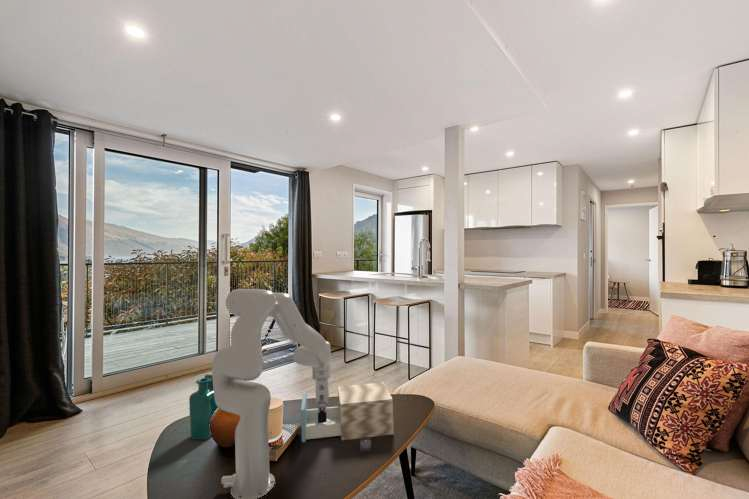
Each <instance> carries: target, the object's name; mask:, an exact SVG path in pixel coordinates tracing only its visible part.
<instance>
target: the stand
mask: <svg viewBox="0 0 749 499" xmlns="http://www.w3.org/2000/svg"><path fill="white" fill-rule="evenodd" d="M371 451H372V439H371V437H362V438H359V452H360V453H363V454H367V453H370V452H371Z"/></svg>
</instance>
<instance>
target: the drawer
mask: <svg viewBox="0 0 749 499" xmlns="http://www.w3.org/2000/svg"><path fill="white" fill-rule="evenodd" d="M307 393H308V392H307V390H303V391H302V397H301V407H300V420H301V421H300V422H301V428H300V429H301V443H306V442H307V441H306V440H311V439H312V440H313V439H323V438H330V437H336V436H337V437H341V410H340V406H339V405H338V406H330V407H329V406H326V419H330V420H331V423H329V424H320V425H315V422H316V421H317V420H318V407H317V408H310V409H308V402H307V401H308V398H307V396H308V394H307Z"/></svg>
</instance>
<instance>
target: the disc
mask: <svg viewBox="0 0 749 499" xmlns="http://www.w3.org/2000/svg"><path fill="white" fill-rule="evenodd" d="M329 423H331V420H330V419H326V422H325V423H318V420H317V421H316V422H315V425H320V424H329Z"/></svg>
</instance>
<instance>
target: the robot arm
mask: <svg viewBox="0 0 749 499" xmlns="http://www.w3.org/2000/svg"><path fill="white" fill-rule="evenodd" d="M225 307H226V309H227V311H228V312H229V313H230V314H231V315H234V316H238V318H237V319H236V320H235V322H234V324H233V325H232V328H231V332H230V345H226V346H222V347H221V348H219V349H218V350H217V351H216V353H215V355H214V356H213V359H212V364H211V375H212V378H213V389H214V398H215V402H216V405H217V406H218V410H221V411H224V412H226V413H229V414H235V415H237V416H239V421H238V423H237V425H236V427H235V431H234V444H235V445H234V446H235V447H234V450H235V451H234V452H235V454H234V455H235V473H233V474H232V475H223V476H222V477H221V480H220V481H221V482H220V483H221V485H223V488H225V489H226V488H230V496H231V495H232V496H233V498H235V499H257V498H260V497H262V496H264V495H266V494H267V493H268V492H269V491H270V490H271V489H272V488H273V487H274V488H275V486H274V484H275V485H276V479H275V476H274V475H273V474H272V473H270V450H269V448H270V447H269V446H270V445H269V444H270V443H269V414H270V407H271V400H272V399H271V398H272V396H271V391H270V390H269V388H268V387H267V386H266V385H264V384H262V383H259V382H254V380H257V379H258V378H260V376H261V374H262V372H263V367H264V365H263V364H264V362H263V351H262V350H263V349H262V329H263V327H264V324H265V322H266V321H267V319H268V317H269V318H273V320H274V322H275V323H276V325H277V326H278V328H279V329H280V331H281V333H282V335H283V337H284V338H285V339H287V340H289V341H291V342H293V343H295V344H298V345H299V346H297V348H296V349H295V350H294V352H293V360H294V362H295V363H296V364H297V365H300V366H304V367H311V379H313V380H314V386H315V388H314V389H315V392H314V393H315V402H316V405H317V408H318V423H325V422H326V408H327V405H328V406H329V405H330V382H329V380H330V379H331V377H332V355H331V343H330V342H329V341H327V340H326V339H325V338H324V336H322V334H320V332H318V331H317V330H316V329H315V328H313V327H312V326H310V325H309V324H307V323H306V322H305V319H304V318H303V316H302V314H301V313H300V311H299V309H298V307H297V305H296V304H295V302H294V299H293V298H292V296H291V295H290V294H288V293H286V292H274V291H271V290H269V289H262V288H236V289H233V290H232V291H230V292H229V293H228V295H227V296H226V298H225ZM274 488H273V489H274ZM232 496H231V497H232ZM266 496H267V495H266ZM240 497H241V498H240ZM233 498H232V499H233Z"/></svg>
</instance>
